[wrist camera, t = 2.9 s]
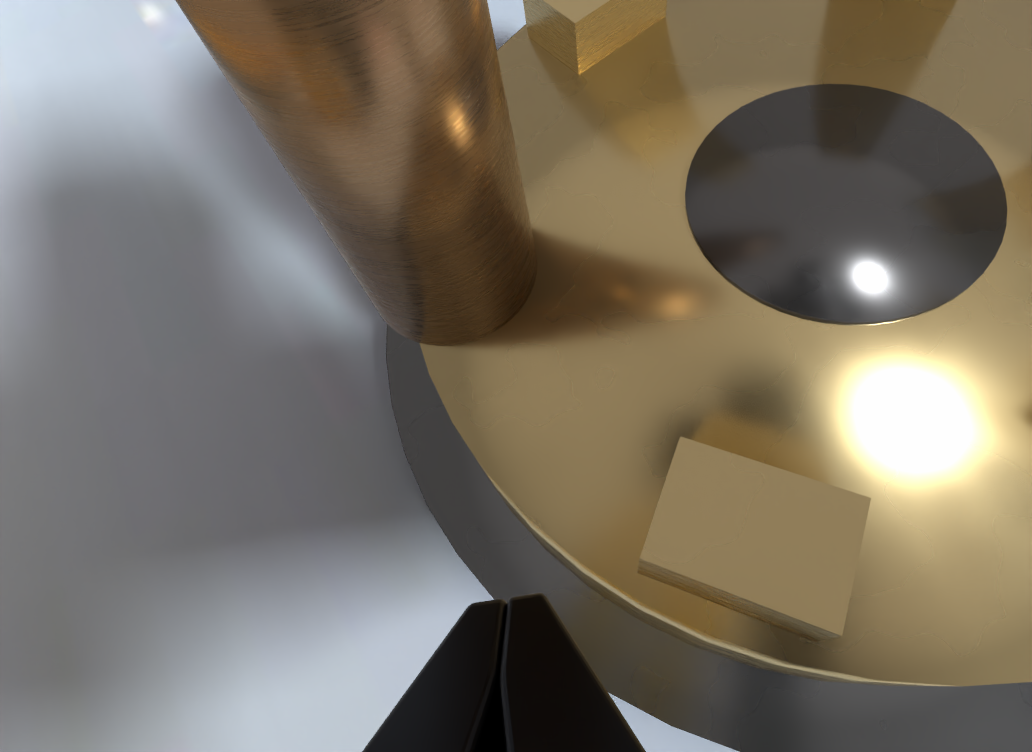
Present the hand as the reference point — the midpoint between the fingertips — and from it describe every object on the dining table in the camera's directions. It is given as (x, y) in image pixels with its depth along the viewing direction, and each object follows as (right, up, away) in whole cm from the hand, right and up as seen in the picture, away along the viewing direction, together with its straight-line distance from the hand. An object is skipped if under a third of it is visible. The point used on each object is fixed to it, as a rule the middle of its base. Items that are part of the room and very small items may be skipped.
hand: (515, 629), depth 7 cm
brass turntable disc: (+7, +5, +9) cm, 12 cm away
